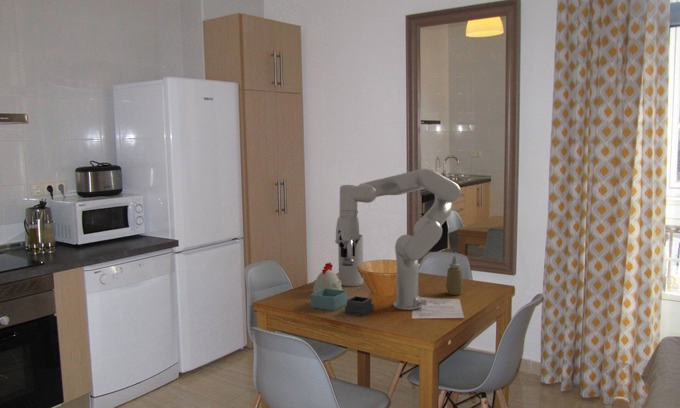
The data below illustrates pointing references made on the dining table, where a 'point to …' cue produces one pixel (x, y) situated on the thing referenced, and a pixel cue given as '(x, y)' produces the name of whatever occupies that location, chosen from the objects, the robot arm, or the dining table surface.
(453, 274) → the squeeze bottle
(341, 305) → the bin
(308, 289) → the dining table surface
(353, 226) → the robot arm
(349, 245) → the pepper mill
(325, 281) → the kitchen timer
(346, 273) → the cylinder vase
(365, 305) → the square recessed block
